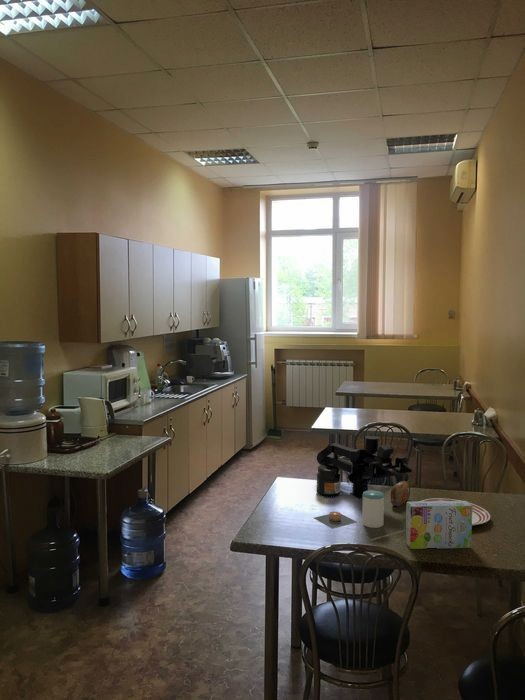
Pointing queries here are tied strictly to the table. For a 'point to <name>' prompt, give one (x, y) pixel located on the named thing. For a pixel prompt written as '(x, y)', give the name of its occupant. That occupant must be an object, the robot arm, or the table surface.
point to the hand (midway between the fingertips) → (403, 472)
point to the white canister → (373, 509)
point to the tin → (400, 493)
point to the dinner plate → (477, 512)
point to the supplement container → (328, 480)
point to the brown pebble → (335, 516)
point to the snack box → (438, 524)
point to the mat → (332, 524)
